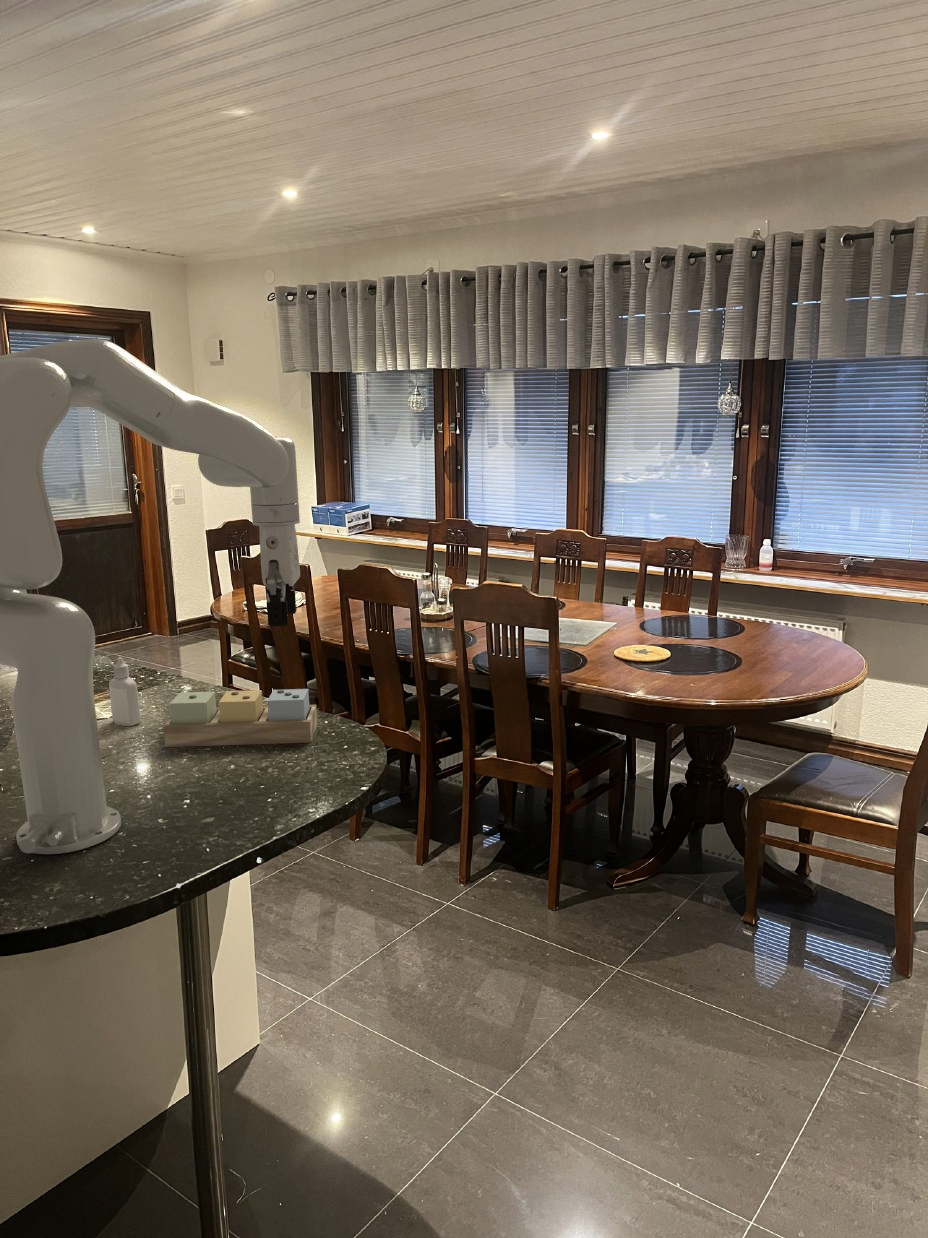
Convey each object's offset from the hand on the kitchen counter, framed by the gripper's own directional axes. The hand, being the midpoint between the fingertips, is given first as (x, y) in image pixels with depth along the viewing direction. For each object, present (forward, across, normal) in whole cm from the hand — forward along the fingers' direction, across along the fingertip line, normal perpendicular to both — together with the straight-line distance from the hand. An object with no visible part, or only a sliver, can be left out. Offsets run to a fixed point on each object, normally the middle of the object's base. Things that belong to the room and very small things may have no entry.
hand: (282, 619), depth 148 cm
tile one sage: (+17, 0, +16) cm, 23 cm away
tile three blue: (+17, 0, 0) cm, 17 cm away
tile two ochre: (+17, 0, +8) cm, 19 cm away
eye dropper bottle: (+20, +8, +30) cm, 38 cm away
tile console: (+20, 0, +8) cm, 22 cm away
